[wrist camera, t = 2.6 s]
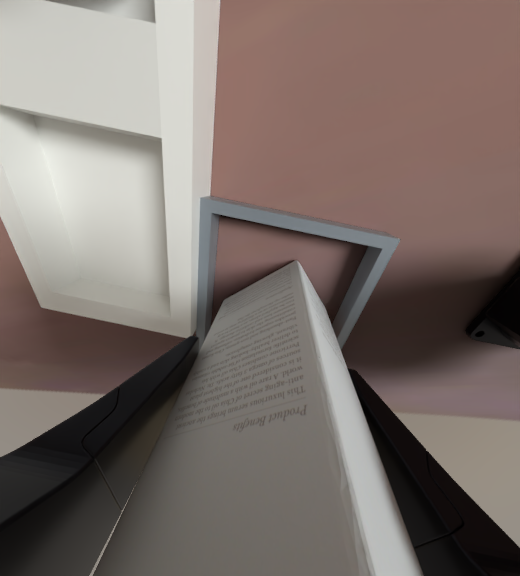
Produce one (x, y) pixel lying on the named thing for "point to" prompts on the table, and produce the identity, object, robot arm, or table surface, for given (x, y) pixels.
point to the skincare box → (264, 457)
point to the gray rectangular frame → (377, 241)
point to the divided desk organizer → (108, 153)
